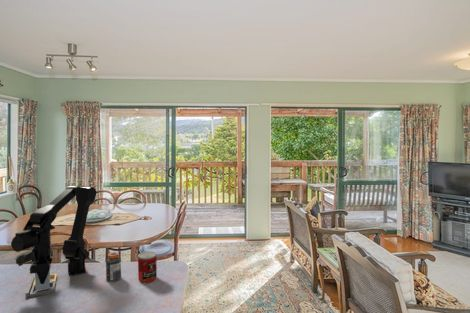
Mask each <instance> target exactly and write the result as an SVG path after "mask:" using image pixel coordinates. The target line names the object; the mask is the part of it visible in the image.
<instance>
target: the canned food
mask: <svg viewBox="0 0 470 313" xmlns="http://www.w3.org/2000/svg"><path fill="white" fill-rule="evenodd" d="M137 255H138V256H137V271H138V272H137V274H138V278H137V279H138V282H140V283H141V284H150V283H153V282H154V281H155V280H156V279H157V278H158V277H157V276H158V275H157V272H158V271H157V269H158V268H157V262H158V261H157V252H156V251H151V250H149V251H147V250H146V251H143V252H140V253H139V254H137Z"/></svg>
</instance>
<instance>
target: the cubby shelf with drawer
mask: <svg viewBox="0 0 470 313" xmlns="http://www.w3.org/2000/svg"><path fill="white" fill-rule="evenodd" d="M51 278H53V280H50V286H52V287H51V288H49V289H44V290H39V291H36V292H34V291H35V275H33V276H31V277H30V279H29V282H28V285H27V288H26V290H25V298H26V299H27V298H33V297H38V296H43V295H48V294H52V293H55V289H56V284H57V278H58V274H57V273H52V274H51V273H50V279H51ZM50 286H49V287H50Z"/></svg>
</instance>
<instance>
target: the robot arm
mask: <svg viewBox="0 0 470 313" xmlns="http://www.w3.org/2000/svg"><path fill="white" fill-rule="evenodd" d="M97 193H98V192H97V190H96V187H93V186H78V185H68V186H67V187H66V188H65V189H64V190H63V191H62V192H61V193H60V194H59V195H58V196H56V197H55V198H54V199H53V200H52V201H51V202H50V203H48V204H47V205H46V206H43V207H40V208H38V209H36V210H35V211H33V212H32V213H30V216H29V218H28V221H27V223H26V224H25V226H24V227H23V230H22V231H19V232H15V234H14V235H15V236H14V237H13V238H12V239H11V241H10V246H11V248H12V250H13V251H15V252H16V253H19V252H20V254H18V255H16V257H15V259H14V260H15V263H16V265H18V267H22V266H23V265H24V264H26V263H29V262H32V263H31V265H30V267H29V273H30V274H31V275H32V274H35V273H37V275H38V278H39V280H40V283H41V284H44V282H45V280H46V277H47V275H48V272H49V270H50V271H51V267H52V263H53V259H54V258H53V257H54V250H53V249H52V248H51V247H52V242H51V239H52V238H51V231H52V230H54V229H56V227H55V226H54V225H52V223H53V222H54V221H55V220H56V218H57V215H58V213H59V212H60V211H61V210H62V209H63V208H64V207H66V206H67V204H68V203H70V202H71V201H72V200H73V199H75V201H76V203H77V207H76V212H75V217H74V221H73V223H72V224H73V225H72V229H71V233H70V236H69V238H67V239H64V241H63V245H62V248H61V250H62V255H63V256H64V258H65V260H68V263H67V273H68V275H69V276H73V275H79V274H83V273H86V260H87V259H88V258H89V256H90V252H89V251H88V250H87V249H85V248H86V247H85V246H86V243H85V240H84V232H85V228H86V224H87V219H88V214H89V212H90V207H91V205H92V204H93V203H94V201H95V199H96V197H97ZM28 249H30V250H28ZM25 250H27V251H25ZM22 251H25V252H22ZM21 252H22V253H21Z"/></svg>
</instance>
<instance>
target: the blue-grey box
mask: <svg viewBox="0 0 470 313" xmlns="http://www.w3.org/2000/svg"><path fill="white" fill-rule="evenodd" d="M50 275H51V269H50V270H49V272H48V275H47V277H46V280H45V282H44V284H41V283H40V280H39V278H38V275H37V273H34V279H35V289H34V291H36V292H38V291H43V290H48V289H50V281H51V278H50Z"/></svg>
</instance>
